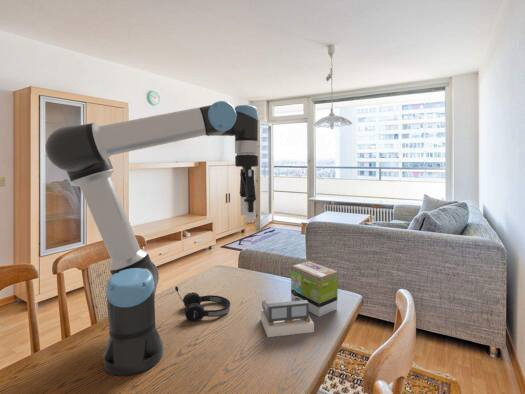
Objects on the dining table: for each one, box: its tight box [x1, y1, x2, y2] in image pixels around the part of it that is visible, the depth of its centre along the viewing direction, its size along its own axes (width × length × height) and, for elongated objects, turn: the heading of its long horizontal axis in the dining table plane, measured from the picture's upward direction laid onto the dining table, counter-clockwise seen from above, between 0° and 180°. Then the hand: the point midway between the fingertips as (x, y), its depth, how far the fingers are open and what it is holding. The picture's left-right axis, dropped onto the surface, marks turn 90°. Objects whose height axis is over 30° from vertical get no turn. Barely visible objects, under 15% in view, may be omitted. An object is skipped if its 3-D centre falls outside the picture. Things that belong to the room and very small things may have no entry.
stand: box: [260, 310, 315, 338], centre depth 101 cm, size 11×15×4 cm
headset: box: [174, 286, 231, 322], centre depth 111 cm, size 14×10×20 cm
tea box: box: [290, 260, 339, 318], centre depth 114 cm, size 15×10×15 cm
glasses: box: [261, 298, 310, 322], centre depth 102 cm, size 11×13×5 cm
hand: (247, 218), depth 103 cm, fingers open, 13 cm apart
